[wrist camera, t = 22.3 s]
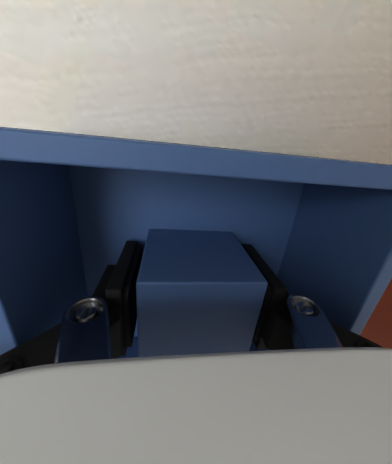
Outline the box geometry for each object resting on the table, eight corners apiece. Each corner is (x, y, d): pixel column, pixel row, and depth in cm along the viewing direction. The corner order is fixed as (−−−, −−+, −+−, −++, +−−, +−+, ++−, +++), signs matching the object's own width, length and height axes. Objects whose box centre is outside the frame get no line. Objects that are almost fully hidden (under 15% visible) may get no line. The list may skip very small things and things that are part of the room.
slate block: (148, 228, 10) (135, 282, 6) (232, 231, 11) (269, 282, 7) (148, 297, 12) (138, 374, 8) (221, 296, 13) (245, 367, 9)
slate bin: (55, 131, 9) (-106, 117, 4) (315, 157, 10) (453, 171, 5) (88, 336, 13) (39, 454, 8) (263, 330, 15) (310, 424, 10)
